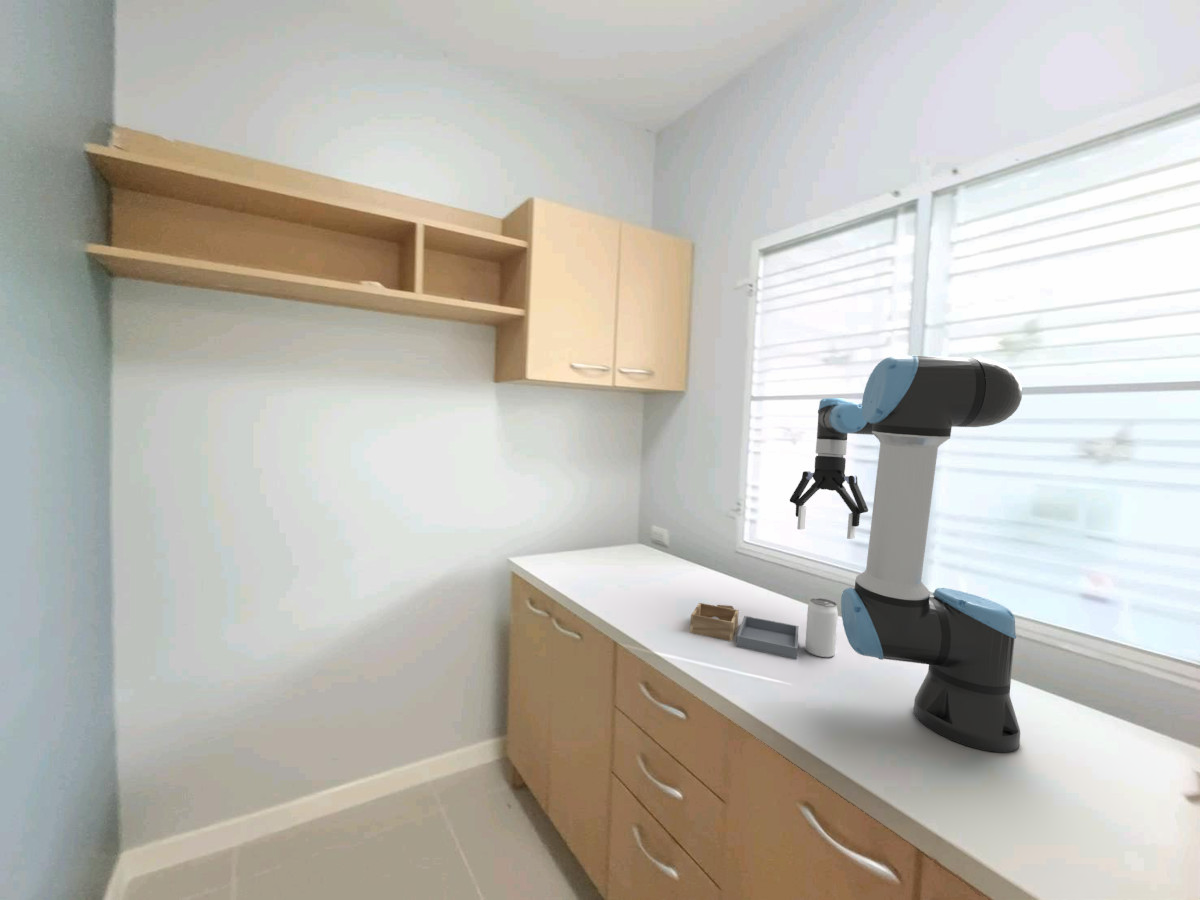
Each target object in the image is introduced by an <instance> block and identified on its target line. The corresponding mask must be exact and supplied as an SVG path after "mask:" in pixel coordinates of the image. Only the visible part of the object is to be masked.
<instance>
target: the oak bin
mask: <svg viewBox="0 0 1200 900" xmlns="http://www.w3.org/2000/svg"><path fill="white" fill-rule="evenodd" d="M739 610H740V609H735V608H734V609H730V608H725V607H719V606H717V605H713V604H709V603H704V602H703V603H702V602H698V604H697V606H696V607H695V608H694V609H693V611H692V613H691V614H690V628H689V633H692V634H695V635H696V634H697V635H701V636H706V637H710V638H715V639H720V640H724V641H728V642H729V641H730V642H733V639H734V637H735V635H736V633H737V629H738V623H739V614H740V612H739ZM711 617H718V618H719V619H715V618H711Z"/></svg>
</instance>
